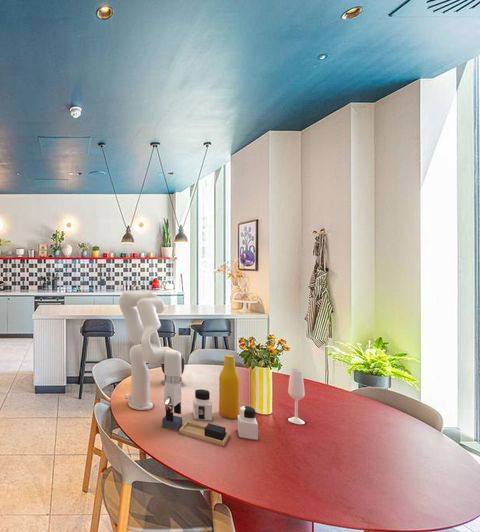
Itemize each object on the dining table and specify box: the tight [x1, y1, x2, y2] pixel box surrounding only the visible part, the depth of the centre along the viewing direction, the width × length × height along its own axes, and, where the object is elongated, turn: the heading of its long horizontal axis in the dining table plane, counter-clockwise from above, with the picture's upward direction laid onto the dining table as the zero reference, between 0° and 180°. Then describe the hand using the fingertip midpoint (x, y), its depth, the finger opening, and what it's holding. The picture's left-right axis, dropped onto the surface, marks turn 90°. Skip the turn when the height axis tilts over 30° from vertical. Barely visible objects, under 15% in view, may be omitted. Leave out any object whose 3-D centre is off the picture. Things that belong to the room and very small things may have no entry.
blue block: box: [162, 414, 183, 431], centre depth 155 cm, size 7×6×4 cm
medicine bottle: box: [236, 405, 259, 441], centre depth 147 cm, size 7×7×12 cm
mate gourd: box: [160, 354, 185, 387], centre depth 212 cm, size 16×14×20 cm
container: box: [192, 388, 213, 421], centre depth 165 cm, size 8×8×13 cm
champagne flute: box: [287, 368, 306, 425], centre depth 162 cm, size 7×7×24 cm
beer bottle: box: [218, 354, 241, 420], centre depth 168 cm, size 9×9×29 cm
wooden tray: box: [178, 420, 230, 447], centre depth 147 cm, size 18×10×2 cm, turn 54°
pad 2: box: [205, 422, 227, 441], centre depth 145 cm, size 7×6×4 cm
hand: (173, 417), depth 155 cm, fingers open, 9 cm apart
